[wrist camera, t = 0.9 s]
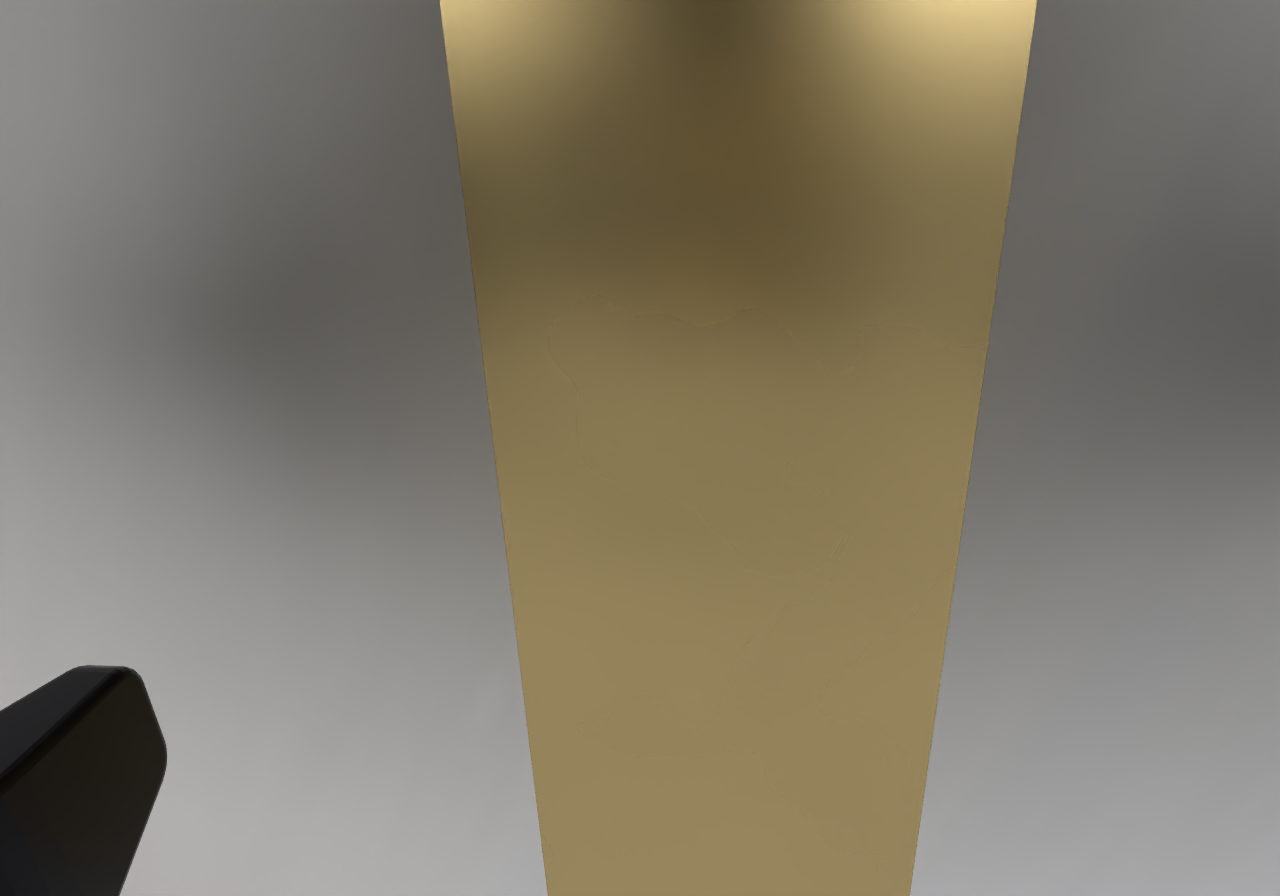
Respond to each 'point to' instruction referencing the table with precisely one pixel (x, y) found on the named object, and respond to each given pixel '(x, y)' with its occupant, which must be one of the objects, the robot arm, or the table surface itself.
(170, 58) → the table surface
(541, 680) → the block
